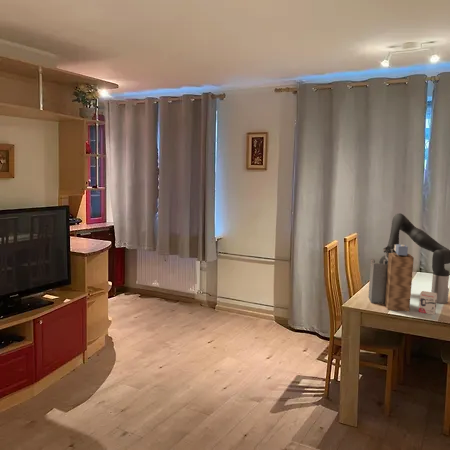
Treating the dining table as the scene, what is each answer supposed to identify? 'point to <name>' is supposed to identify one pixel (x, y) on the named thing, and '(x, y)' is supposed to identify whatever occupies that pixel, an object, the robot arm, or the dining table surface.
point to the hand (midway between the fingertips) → (397, 245)
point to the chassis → (378, 282)
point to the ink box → (428, 302)
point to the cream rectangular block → (401, 249)
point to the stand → (399, 282)
